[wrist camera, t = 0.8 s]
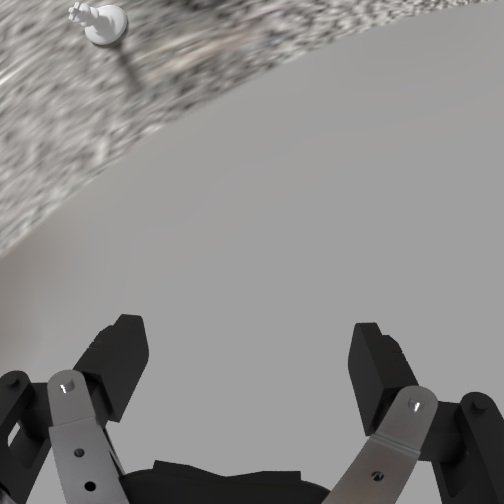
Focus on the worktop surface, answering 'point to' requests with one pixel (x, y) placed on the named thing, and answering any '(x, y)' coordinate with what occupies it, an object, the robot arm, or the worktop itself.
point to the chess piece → (100, 22)
